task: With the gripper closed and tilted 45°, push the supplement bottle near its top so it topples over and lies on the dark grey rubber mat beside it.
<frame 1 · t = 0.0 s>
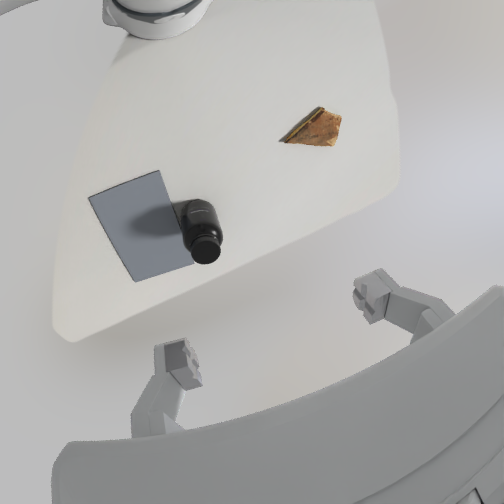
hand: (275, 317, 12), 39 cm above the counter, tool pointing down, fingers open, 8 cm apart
shard: (315, 133, 49), on the counter
supplement bottle: (197, 214, 52), on the counter
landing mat: (144, 232, 51), on the counter
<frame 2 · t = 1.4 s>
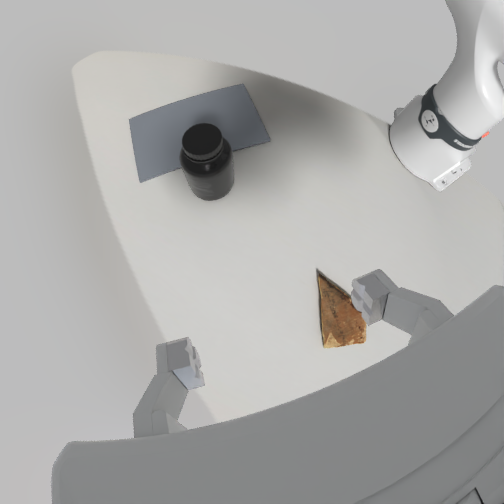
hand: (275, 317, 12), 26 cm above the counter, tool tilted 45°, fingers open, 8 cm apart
shard: (331, 319, 39), on the counter
supplement bottle: (212, 181, 41), on the counter
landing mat: (194, 127, 43), on the counter
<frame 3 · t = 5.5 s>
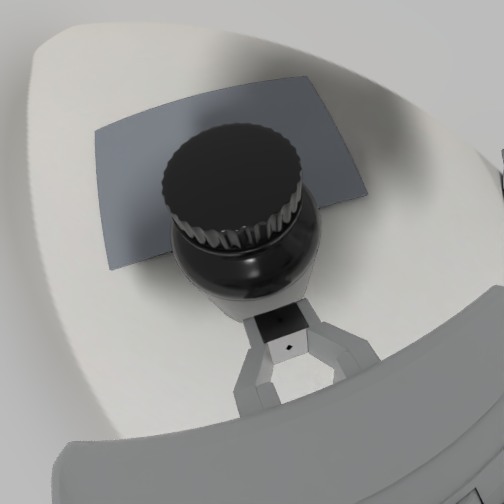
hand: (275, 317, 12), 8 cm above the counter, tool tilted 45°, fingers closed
supplement bottle: (258, 279, 20), point 1 cm above the counter
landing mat: (218, 152, 22), on the counter
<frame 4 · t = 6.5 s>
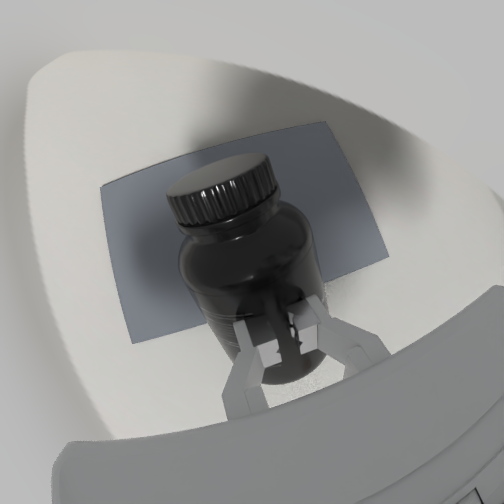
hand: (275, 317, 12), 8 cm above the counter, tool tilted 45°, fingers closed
supplement bottle: (282, 345, 18), point 2 cm above the counter, touching gripper
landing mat: (237, 218, 22), on the counter
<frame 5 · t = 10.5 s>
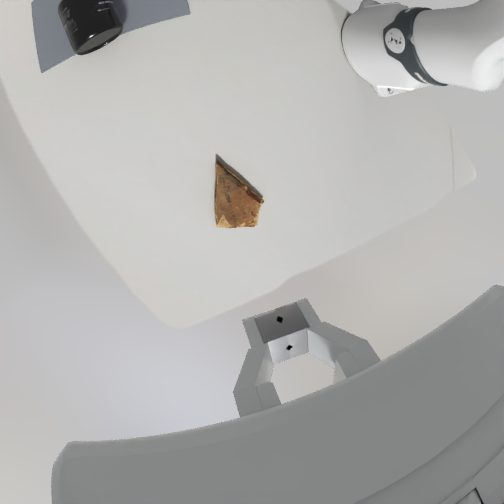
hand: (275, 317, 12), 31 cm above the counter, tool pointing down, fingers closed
shard: (226, 200, 43), on the counter
supplement bottle: (100, 42, 22), point 4 cm above the counter, touching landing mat
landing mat: (103, 0, 20), on the counter
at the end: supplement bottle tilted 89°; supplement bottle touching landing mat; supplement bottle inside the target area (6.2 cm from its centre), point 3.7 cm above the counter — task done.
